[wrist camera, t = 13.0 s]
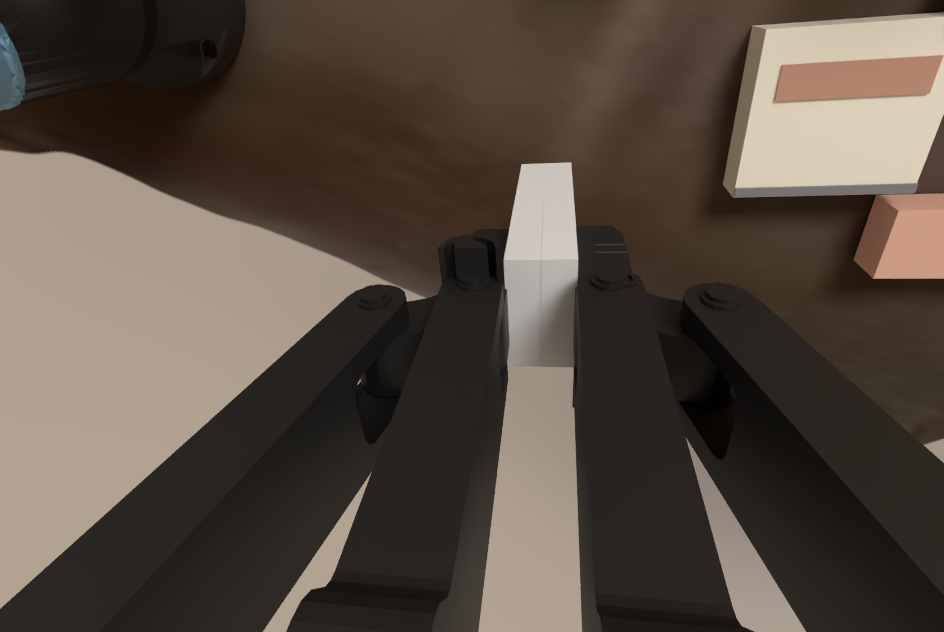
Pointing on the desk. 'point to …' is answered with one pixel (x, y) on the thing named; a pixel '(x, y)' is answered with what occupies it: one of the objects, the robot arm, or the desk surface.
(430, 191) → the desk surface
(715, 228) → the desk surface
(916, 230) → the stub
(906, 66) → the cream block with stripe
